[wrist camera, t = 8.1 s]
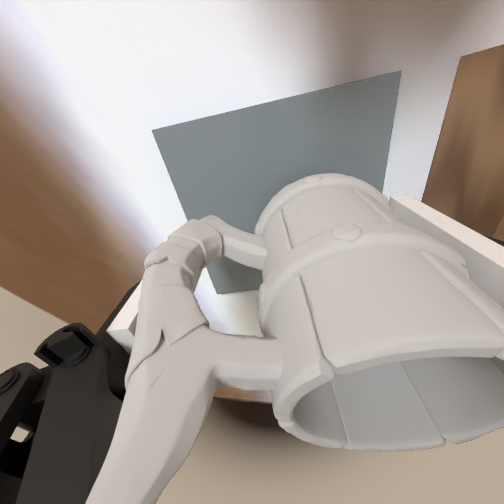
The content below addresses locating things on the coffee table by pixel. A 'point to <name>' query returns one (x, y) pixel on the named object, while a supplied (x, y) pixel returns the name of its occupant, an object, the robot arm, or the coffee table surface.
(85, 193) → the coffee table surface
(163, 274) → the mug
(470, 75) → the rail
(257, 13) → the coffee table surface
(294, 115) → the plate
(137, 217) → the coffee table surface
